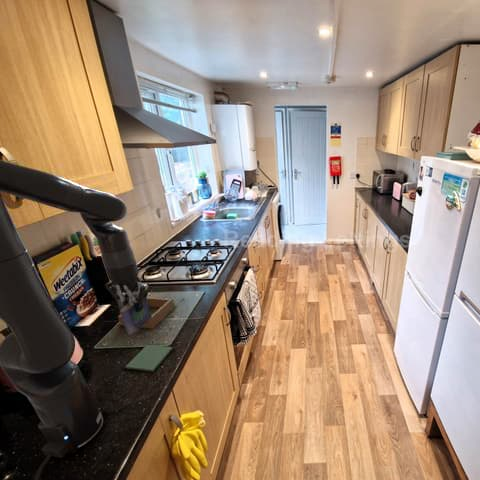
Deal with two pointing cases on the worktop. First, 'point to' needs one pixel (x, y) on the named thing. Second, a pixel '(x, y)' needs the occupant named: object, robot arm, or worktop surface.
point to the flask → (135, 316)
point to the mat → (149, 358)
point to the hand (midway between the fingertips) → (135, 310)
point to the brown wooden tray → (165, 308)
